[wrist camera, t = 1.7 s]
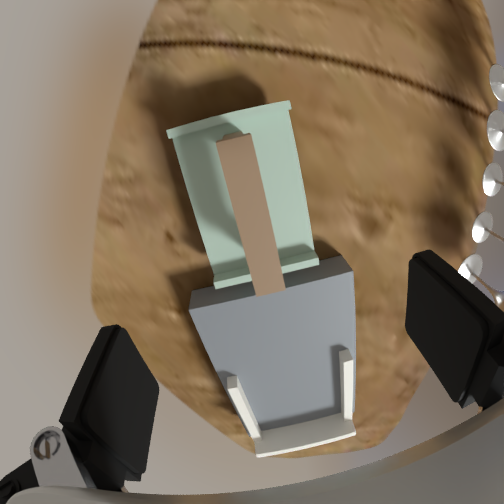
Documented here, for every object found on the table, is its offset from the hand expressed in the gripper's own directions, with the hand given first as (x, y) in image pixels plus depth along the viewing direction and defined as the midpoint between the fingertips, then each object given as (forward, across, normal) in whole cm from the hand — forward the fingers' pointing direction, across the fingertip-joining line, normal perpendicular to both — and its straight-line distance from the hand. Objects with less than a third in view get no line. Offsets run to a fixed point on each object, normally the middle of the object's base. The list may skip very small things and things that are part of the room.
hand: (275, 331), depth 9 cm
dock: (+17, 0, +18) cm, 25 cm away
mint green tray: (+16, 0, -1) cm, 16 cm away
